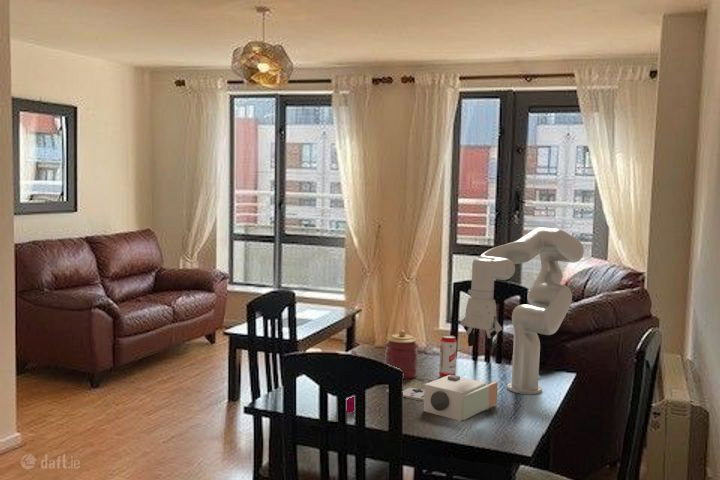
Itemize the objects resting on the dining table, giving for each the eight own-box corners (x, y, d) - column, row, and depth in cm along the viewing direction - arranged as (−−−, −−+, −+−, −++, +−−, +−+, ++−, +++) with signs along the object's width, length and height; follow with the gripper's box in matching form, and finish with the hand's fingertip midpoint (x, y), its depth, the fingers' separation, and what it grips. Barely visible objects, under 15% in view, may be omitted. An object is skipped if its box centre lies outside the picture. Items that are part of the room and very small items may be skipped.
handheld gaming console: (409, 386, 254) (448, 393, 247) (409, 390, 254) (448, 397, 247) (398, 393, 245) (438, 400, 238) (398, 397, 245) (438, 405, 238)
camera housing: (448, 400, 242) (449, 372, 241) (484, 409, 233) (486, 379, 233) (420, 412, 228) (422, 382, 227) (458, 422, 219) (459, 390, 219)
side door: (494, 403, 238) (495, 381, 237) (496, 403, 237) (497, 382, 237) (461, 419, 220) (462, 395, 219) (463, 419, 219) (464, 396, 219)
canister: (412, 380, 265) (414, 335, 264) (380, 376, 269) (381, 331, 268) (420, 372, 277) (422, 328, 276) (389, 369, 282) (390, 325, 280)
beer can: (457, 376, 273) (459, 336, 272) (451, 380, 268) (452, 339, 267) (443, 374, 276) (444, 334, 275) (436, 377, 271) (437, 336, 270)
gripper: (454, 293, 240) (452, 345, 241) (500, 299, 229) (497, 353, 230) (465, 291, 245) (463, 341, 247) (510, 296, 235) (507, 349, 236)
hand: (479, 346), depth 239 cm, fingers open, 5 cm apart
